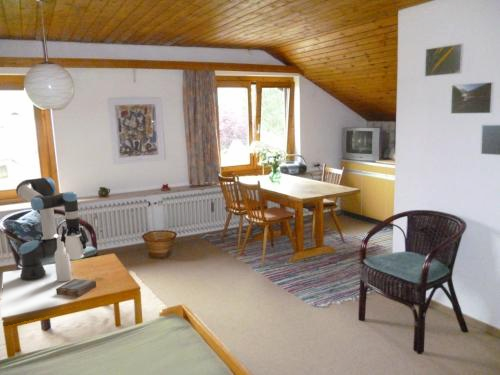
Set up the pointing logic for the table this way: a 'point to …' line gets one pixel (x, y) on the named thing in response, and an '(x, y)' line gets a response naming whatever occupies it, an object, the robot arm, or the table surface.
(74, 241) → the jar
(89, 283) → the plinth
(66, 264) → the alcohol
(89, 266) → the table surface
